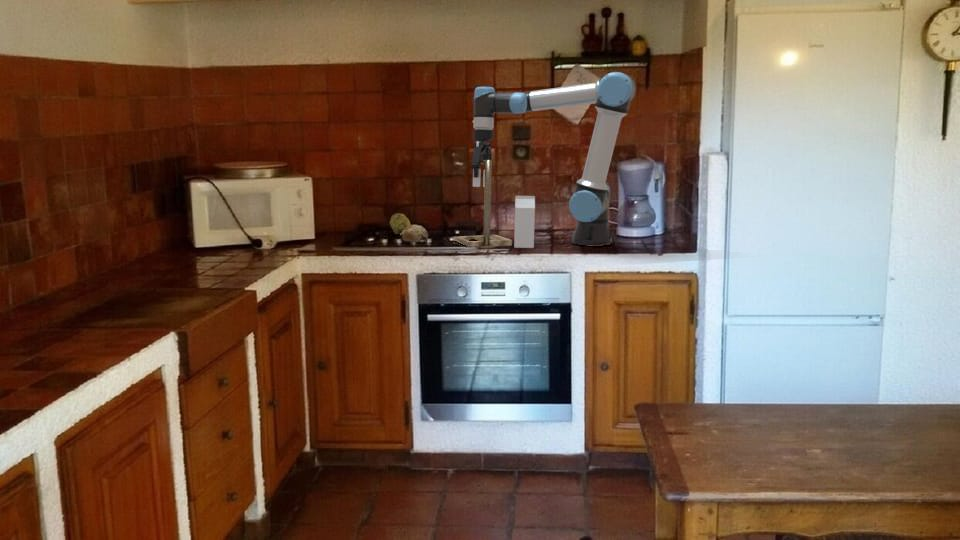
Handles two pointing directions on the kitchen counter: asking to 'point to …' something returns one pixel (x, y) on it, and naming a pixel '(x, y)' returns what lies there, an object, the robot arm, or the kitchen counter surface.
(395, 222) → the green oval lump
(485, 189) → the hook post
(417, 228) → the bread roll
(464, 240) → the shelf board
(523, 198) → the milk carton
